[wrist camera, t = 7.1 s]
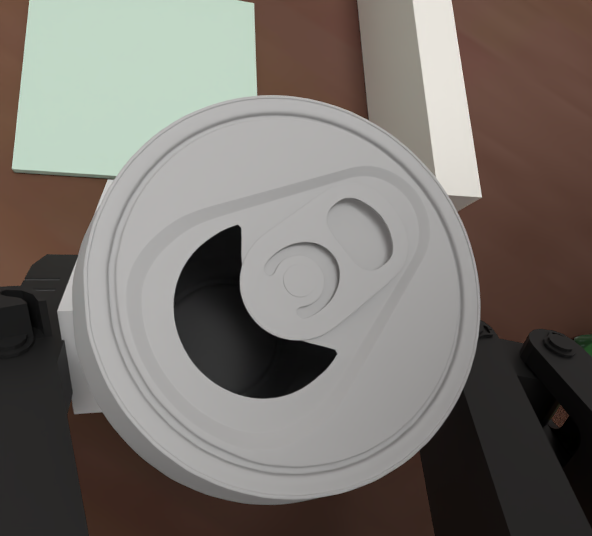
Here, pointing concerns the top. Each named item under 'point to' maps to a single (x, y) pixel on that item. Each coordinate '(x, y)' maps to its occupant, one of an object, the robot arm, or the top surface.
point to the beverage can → (275, 301)
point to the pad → (123, 76)
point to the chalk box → (585, 343)
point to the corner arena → (420, 88)
